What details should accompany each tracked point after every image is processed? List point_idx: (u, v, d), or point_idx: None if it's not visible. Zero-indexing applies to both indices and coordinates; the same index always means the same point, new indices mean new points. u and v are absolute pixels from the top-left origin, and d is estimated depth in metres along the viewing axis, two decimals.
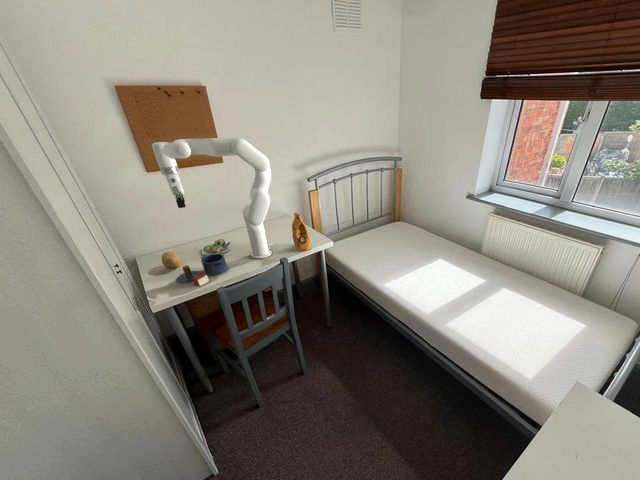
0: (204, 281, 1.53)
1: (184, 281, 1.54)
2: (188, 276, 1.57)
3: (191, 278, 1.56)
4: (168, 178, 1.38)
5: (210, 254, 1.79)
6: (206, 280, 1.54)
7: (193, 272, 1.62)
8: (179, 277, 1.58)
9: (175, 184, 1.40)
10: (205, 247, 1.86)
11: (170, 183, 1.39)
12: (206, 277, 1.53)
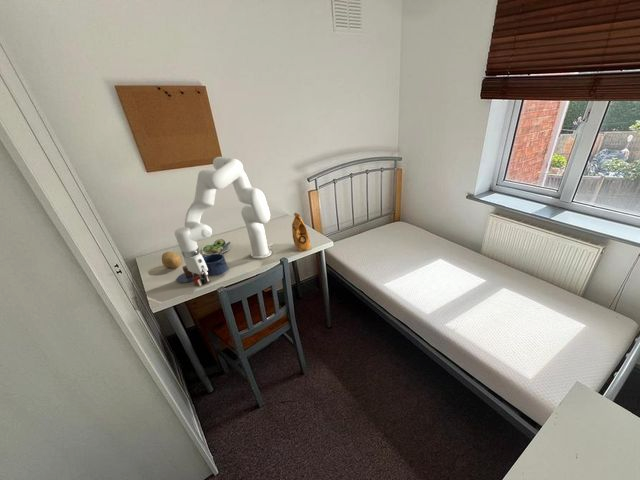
0: None
1: (184, 281, 1.54)
2: (188, 276, 1.57)
3: (191, 278, 1.56)
4: (196, 260, 1.43)
5: (210, 254, 1.79)
6: None
7: None
8: (179, 277, 1.58)
9: (202, 263, 1.46)
10: (205, 247, 1.86)
11: (197, 264, 1.44)
12: None
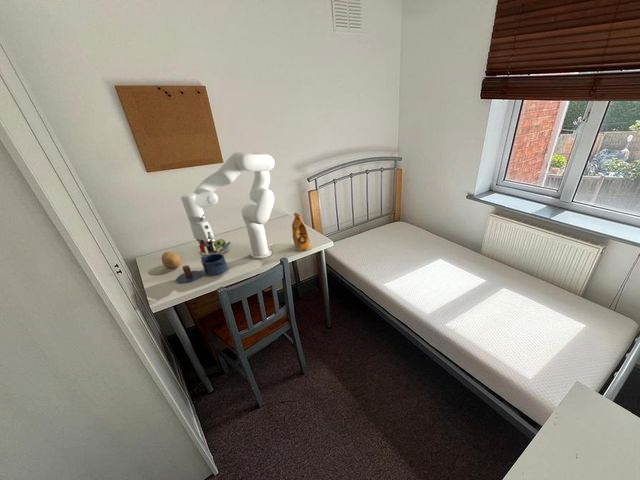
0: None
1: (184, 281, 1.54)
2: (188, 276, 1.57)
3: (191, 278, 1.56)
4: (202, 226, 1.45)
5: (210, 254, 1.79)
6: None
7: (193, 272, 1.62)
8: (179, 277, 1.58)
9: (208, 230, 1.48)
10: None
11: (204, 230, 1.46)
12: None
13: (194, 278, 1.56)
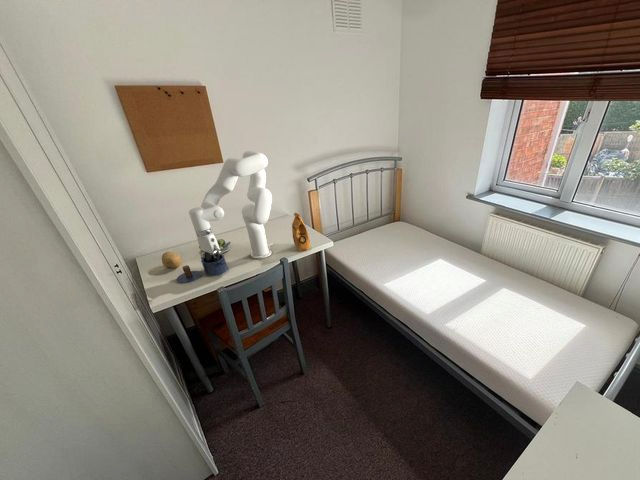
0: None
1: (184, 281, 1.54)
2: (188, 276, 1.57)
3: (191, 278, 1.56)
4: (208, 239, 1.51)
5: (210, 254, 1.80)
6: None
7: (193, 272, 1.62)
8: (179, 277, 1.58)
9: (214, 243, 1.53)
10: None
11: (210, 243, 1.52)
12: None
13: (194, 278, 1.56)
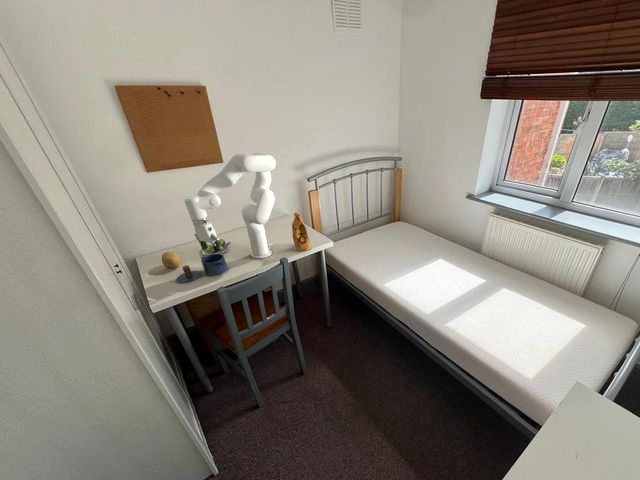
0: None
1: (184, 281, 1.54)
2: (188, 276, 1.57)
3: (191, 278, 1.56)
4: (206, 228, 1.48)
5: (210, 254, 1.80)
6: None
7: (193, 272, 1.62)
8: (179, 277, 1.58)
9: (212, 232, 1.51)
10: None
11: (207, 232, 1.49)
12: None
13: (194, 278, 1.56)
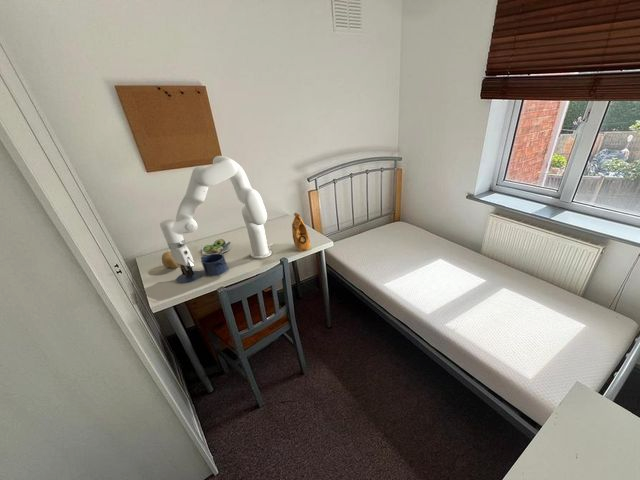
0: None
1: (184, 281, 1.54)
2: None
3: (191, 278, 1.56)
4: (181, 251, 1.47)
5: (210, 254, 1.80)
6: None
7: None
8: (179, 277, 1.58)
9: (188, 255, 1.50)
10: (205, 247, 1.86)
11: (183, 255, 1.48)
12: None
13: (194, 278, 1.56)
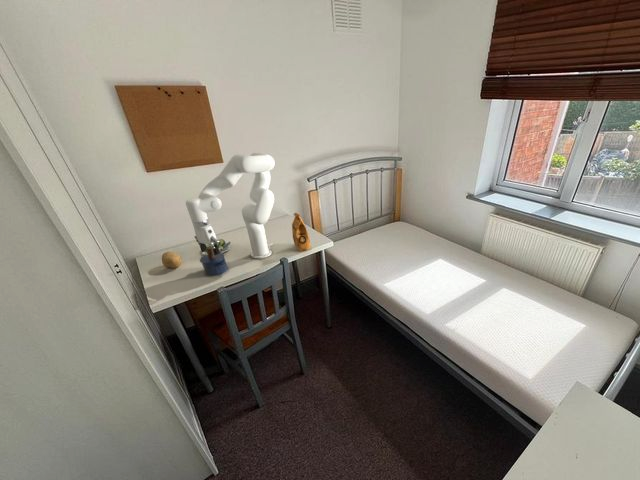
0: None
1: (207, 262, 1.55)
2: (211, 257, 1.58)
3: (214, 259, 1.58)
4: (206, 230, 1.48)
5: None
6: None
7: None
8: (202, 258, 1.59)
9: (212, 234, 1.51)
10: None
11: (207, 234, 1.49)
12: None
13: (217, 259, 1.58)
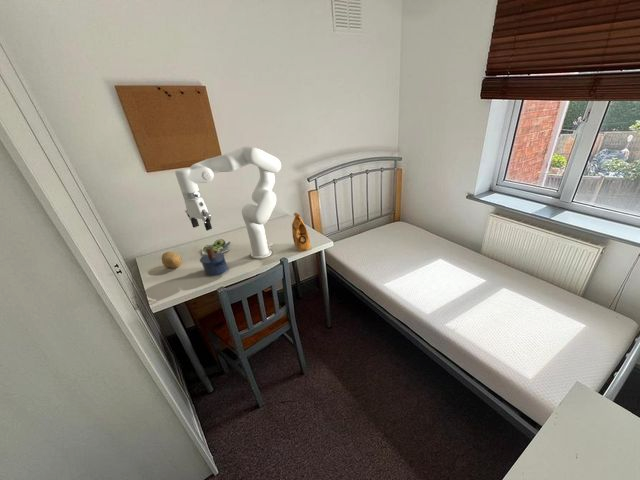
0: None
1: (207, 262, 1.55)
2: (211, 257, 1.58)
3: (214, 259, 1.58)
4: (197, 202, 1.41)
5: None
6: None
7: (215, 254, 1.63)
8: (202, 258, 1.59)
9: (203, 207, 1.43)
10: (205, 247, 1.86)
11: (198, 207, 1.42)
12: None
13: (217, 259, 1.58)
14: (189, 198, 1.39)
